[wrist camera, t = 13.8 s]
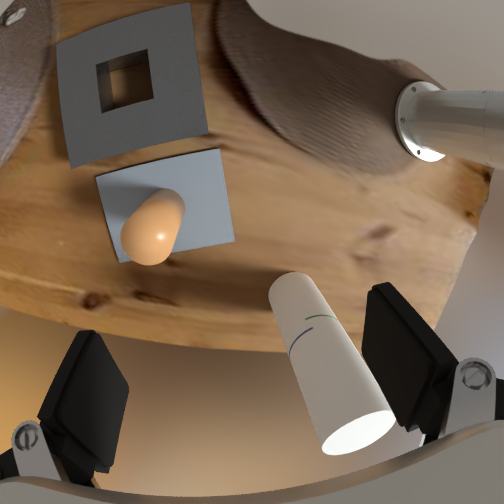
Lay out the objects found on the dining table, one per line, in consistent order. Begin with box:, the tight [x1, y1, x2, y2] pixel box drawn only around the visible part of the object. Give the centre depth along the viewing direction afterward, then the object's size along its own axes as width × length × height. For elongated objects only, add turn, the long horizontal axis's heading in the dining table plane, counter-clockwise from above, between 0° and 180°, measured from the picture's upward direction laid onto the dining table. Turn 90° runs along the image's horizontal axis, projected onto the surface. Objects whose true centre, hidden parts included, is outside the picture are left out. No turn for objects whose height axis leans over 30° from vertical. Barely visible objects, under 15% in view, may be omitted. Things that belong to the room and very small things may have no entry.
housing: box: [56, 2, 209, 169], centre depth 26 cm, size 16×16×5 cm
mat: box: [96, 148, 235, 263], centre depth 35 cm, size 16×12×1 cm
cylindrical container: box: [268, 272, 396, 455], centre depth 32 cm, size 7×7×25 cm
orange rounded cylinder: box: [120, 189, 185, 265], centre depth 30 cm, size 5×5×11 cm
